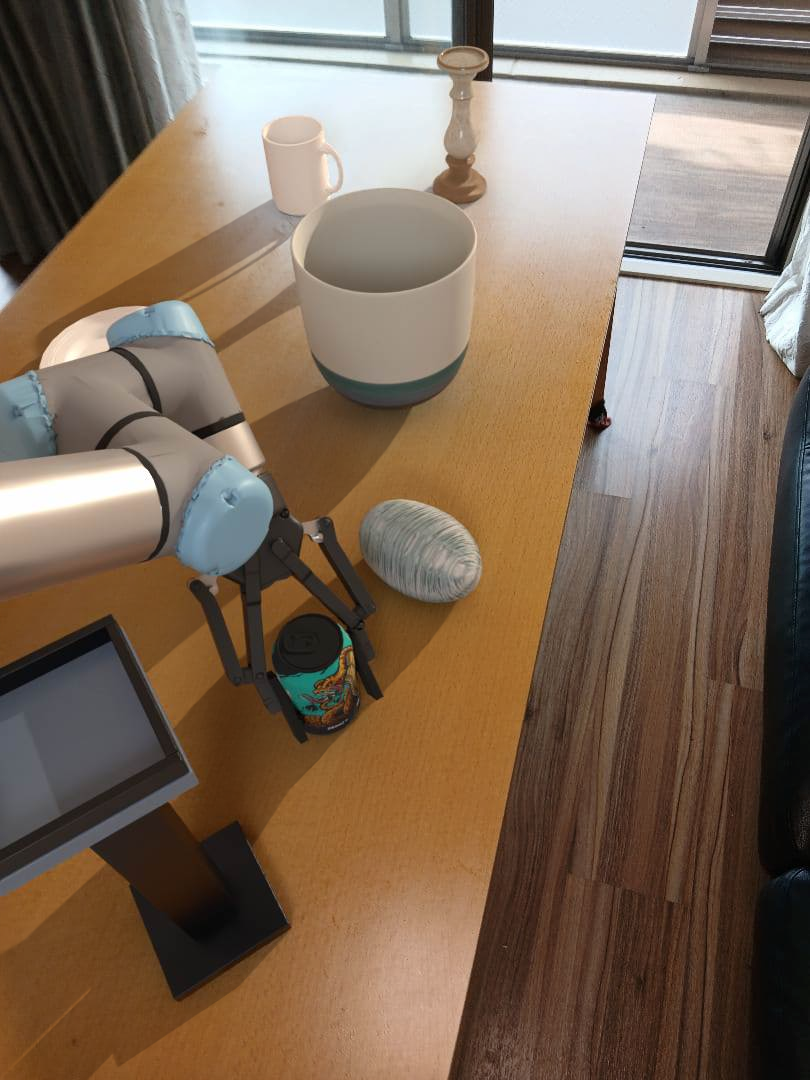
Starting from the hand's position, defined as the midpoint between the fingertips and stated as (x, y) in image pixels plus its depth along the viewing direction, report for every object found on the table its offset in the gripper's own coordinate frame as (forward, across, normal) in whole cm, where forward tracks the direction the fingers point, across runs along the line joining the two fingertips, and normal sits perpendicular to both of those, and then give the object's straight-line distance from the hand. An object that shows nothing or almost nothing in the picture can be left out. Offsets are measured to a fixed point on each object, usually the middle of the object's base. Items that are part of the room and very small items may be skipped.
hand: (338, 716), depth 74 cm
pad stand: (+8, +17, +2) cm, 19 cm away
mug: (-56, -41, -62) cm, 93 cm away
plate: (-41, -1, -47) cm, 63 cm away
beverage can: (0, 0, -5) cm, 5 cm away
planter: (-24, -29, -30) cm, 48 cm away
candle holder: (-49, -63, -54) cm, 96 cm away
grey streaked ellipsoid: (-5, -16, -11) cm, 20 cm away
